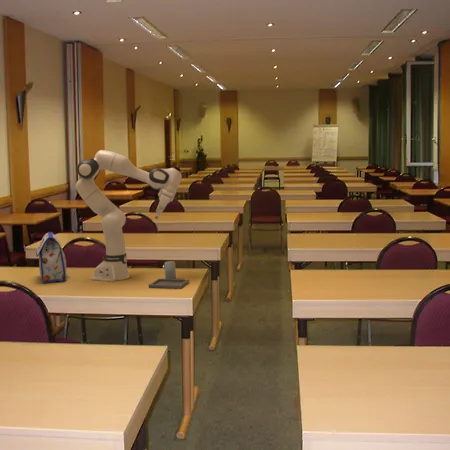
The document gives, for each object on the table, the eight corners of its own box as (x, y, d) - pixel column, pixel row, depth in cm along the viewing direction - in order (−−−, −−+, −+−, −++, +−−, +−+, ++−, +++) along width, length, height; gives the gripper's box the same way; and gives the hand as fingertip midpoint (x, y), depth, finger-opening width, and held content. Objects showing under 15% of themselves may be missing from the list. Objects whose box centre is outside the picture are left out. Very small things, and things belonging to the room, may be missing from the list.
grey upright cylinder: (163, 280, 363) (162, 263, 361) (167, 278, 368) (166, 261, 367) (173, 280, 361) (172, 263, 360) (177, 278, 367) (176, 261, 365)
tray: (149, 287, 347) (148, 284, 347) (158, 281, 360) (158, 278, 360) (180, 288, 342) (180, 285, 342) (188, 282, 356) (188, 279, 355)
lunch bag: (37, 276, 386) (34, 232, 382) (66, 273, 390) (62, 230, 386) (38, 284, 364) (34, 238, 360) (68, 281, 369) (64, 235, 365)
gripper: (159, 196, 374) (149, 218, 371) (162, 189, 354) (152, 212, 352) (169, 201, 375) (160, 222, 372) (173, 194, 355) (163, 217, 352)
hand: (156, 217), depth 362 cm, fingers open, 8 cm apart
